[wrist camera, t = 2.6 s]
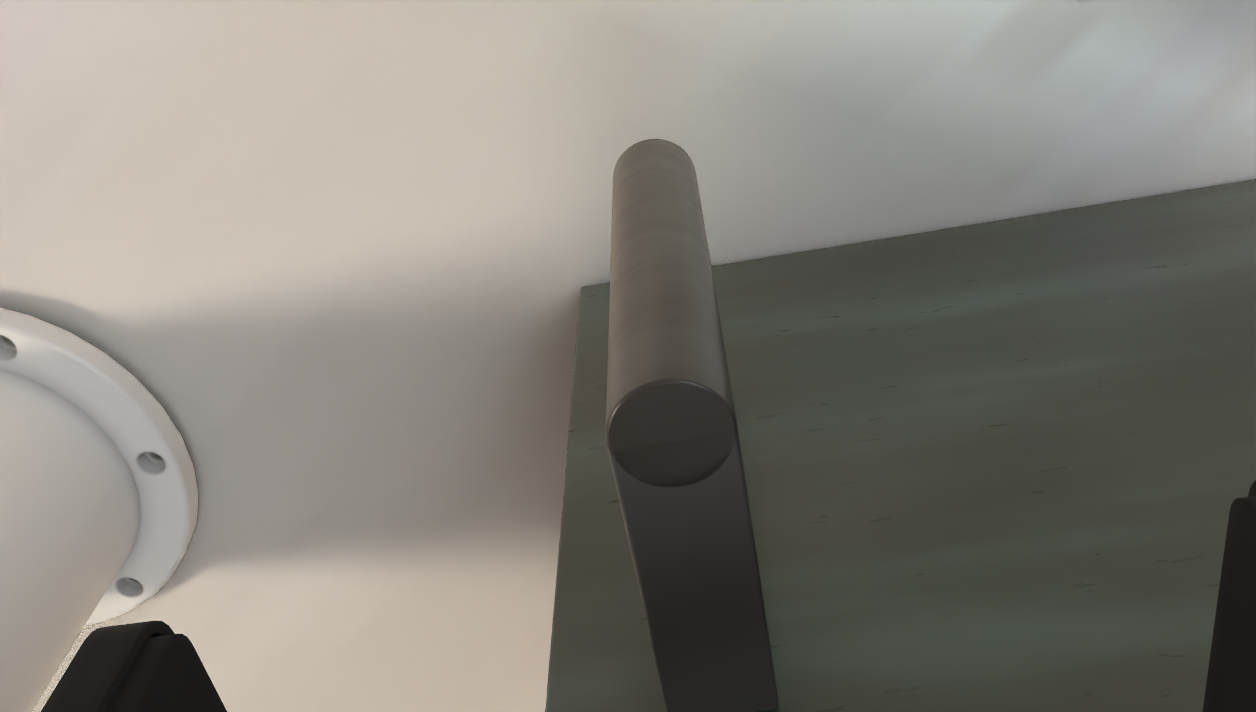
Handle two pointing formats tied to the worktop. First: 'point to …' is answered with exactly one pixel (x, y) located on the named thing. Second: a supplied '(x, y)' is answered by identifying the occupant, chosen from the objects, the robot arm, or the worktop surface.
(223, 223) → the worktop surface
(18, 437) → the robot arm
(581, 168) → the worktop surface
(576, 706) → the door
